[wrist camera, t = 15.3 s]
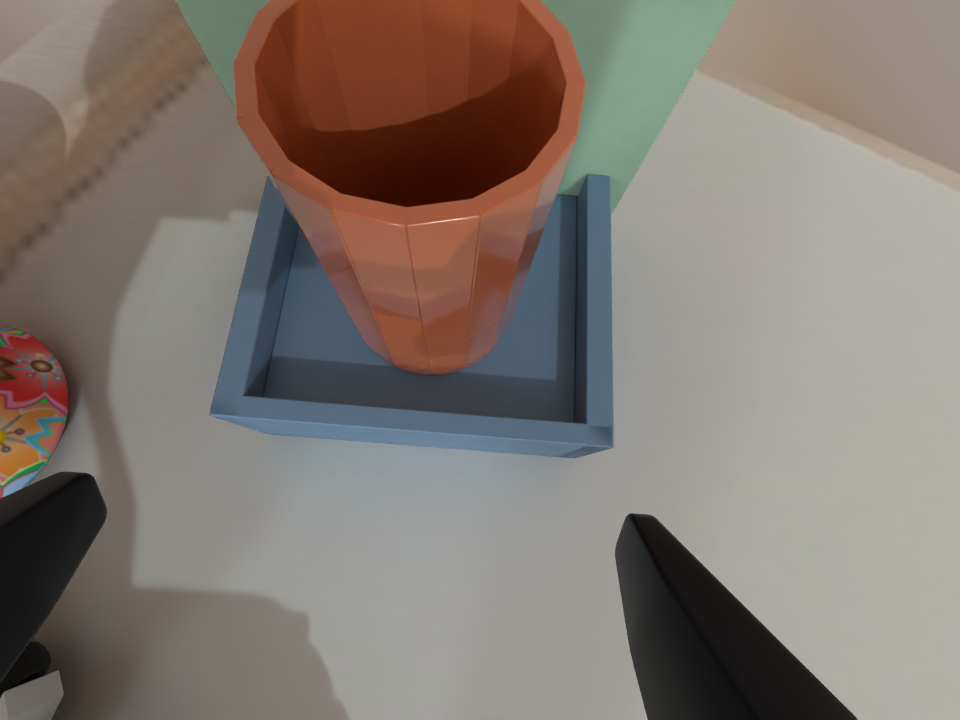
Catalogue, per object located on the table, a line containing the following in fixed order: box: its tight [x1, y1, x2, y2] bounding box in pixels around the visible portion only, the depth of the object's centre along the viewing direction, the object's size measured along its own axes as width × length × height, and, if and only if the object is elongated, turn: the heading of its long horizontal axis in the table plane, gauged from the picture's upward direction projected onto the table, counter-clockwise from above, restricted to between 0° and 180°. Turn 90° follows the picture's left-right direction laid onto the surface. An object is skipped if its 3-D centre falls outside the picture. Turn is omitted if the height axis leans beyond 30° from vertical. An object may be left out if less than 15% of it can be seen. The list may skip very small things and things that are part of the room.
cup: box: [233, 0, 586, 375], centre depth 14 cm, size 7×7×10 cm
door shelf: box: [175, 0, 736, 458], centre depth 16 cm, size 13×16×13 cm
